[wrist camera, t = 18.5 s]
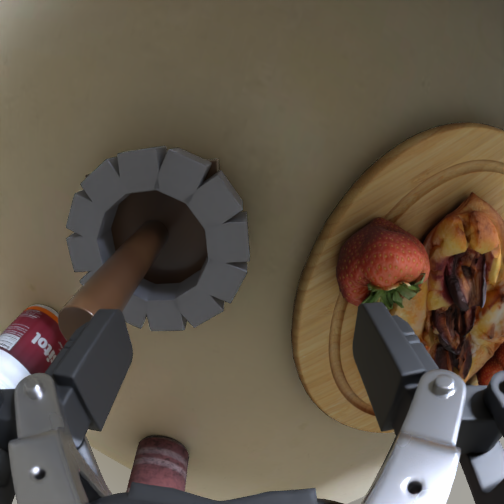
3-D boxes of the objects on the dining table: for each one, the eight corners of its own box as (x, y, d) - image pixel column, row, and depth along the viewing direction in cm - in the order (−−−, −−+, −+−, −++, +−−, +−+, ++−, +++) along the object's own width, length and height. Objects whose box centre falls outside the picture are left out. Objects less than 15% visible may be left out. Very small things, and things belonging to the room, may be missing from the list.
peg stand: (114, 287, 23) (38, 399, 12) (94, 172, 20) (-31, 221, 8) (227, 283, 23) (215, 418, 12) (218, 158, 20) (182, 192, 8)
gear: (104, 313, 22) (92, 330, 20) (70, 162, 18) (52, 167, 16) (253, 308, 22) (254, 327, 20) (241, 137, 18) (241, 137, 16)
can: (174, 466, 33) (161, 558, 20) (131, 445, 31) (106, 540, 18) (201, 450, 31) (192, 555, 18) (154, 427, 29) (130, 537, 16)
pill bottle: (85, 357, 26) (38, 443, 16) (39, 354, 26) (-11, 427, 16) (63, 300, 24) (-5, 382, 13) (17, 301, 24) (-50, 369, 13)
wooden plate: (204, 322, 24) (190, 398, 17) (473, 49, 17) (541, 36, 9) (399, 445, 33) (418, 492, 25) (566, 280, 25) (604, 308, 17)
